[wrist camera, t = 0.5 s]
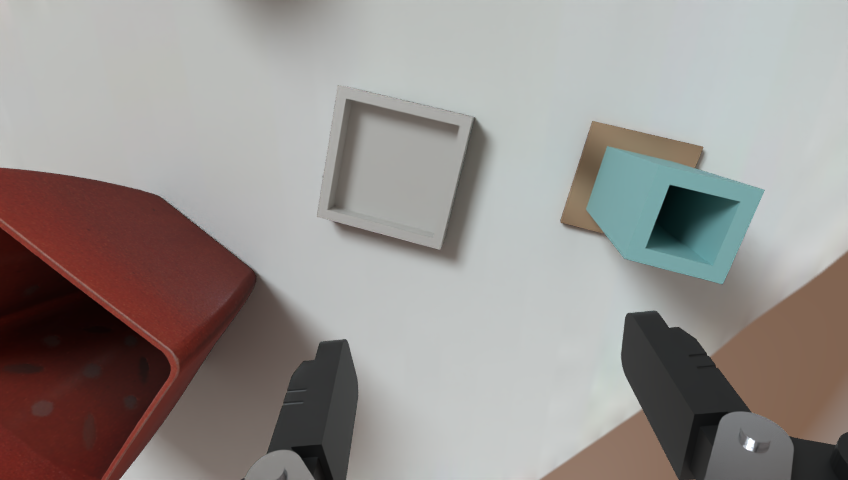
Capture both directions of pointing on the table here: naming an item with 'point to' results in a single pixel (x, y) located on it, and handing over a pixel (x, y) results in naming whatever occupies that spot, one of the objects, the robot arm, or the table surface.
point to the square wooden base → (593, 157)
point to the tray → (393, 166)
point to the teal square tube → (671, 213)
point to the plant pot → (100, 321)
